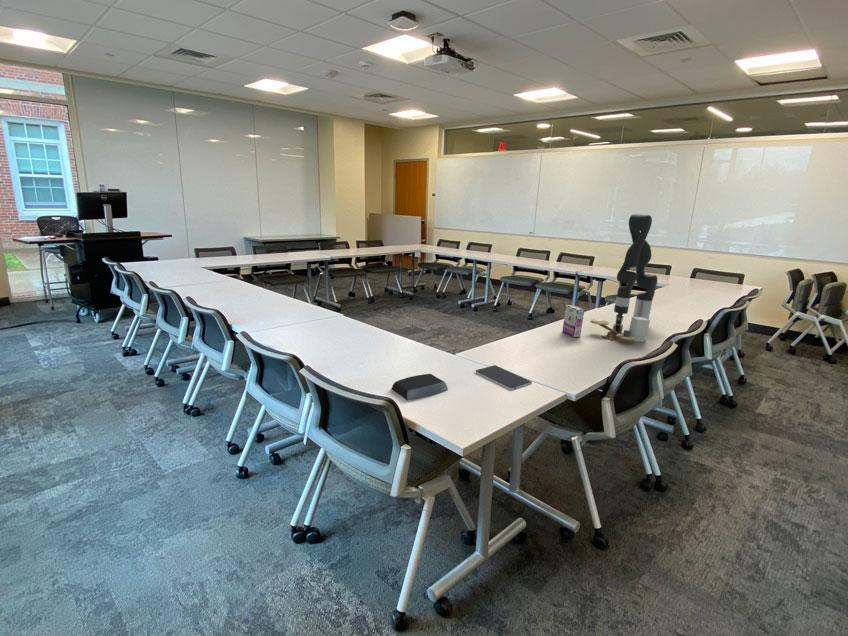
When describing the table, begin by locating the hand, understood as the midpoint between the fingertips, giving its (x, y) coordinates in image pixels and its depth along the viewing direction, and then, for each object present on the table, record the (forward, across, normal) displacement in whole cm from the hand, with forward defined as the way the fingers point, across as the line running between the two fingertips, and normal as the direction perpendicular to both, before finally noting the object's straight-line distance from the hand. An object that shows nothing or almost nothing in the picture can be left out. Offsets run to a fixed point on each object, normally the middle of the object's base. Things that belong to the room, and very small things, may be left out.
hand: (617, 332), depth 268 cm
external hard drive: (+1, +136, -61) cm, 149 cm away
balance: (0, +13, -2) cm, 13 cm away
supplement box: (+1, +7, +11) cm, 13 cm away
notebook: (+1, +106, -37) cm, 112 cm away
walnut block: (0, 0, 0) cm, 0 cm away
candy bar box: (+1, +21, -23) cm, 31 cm away
